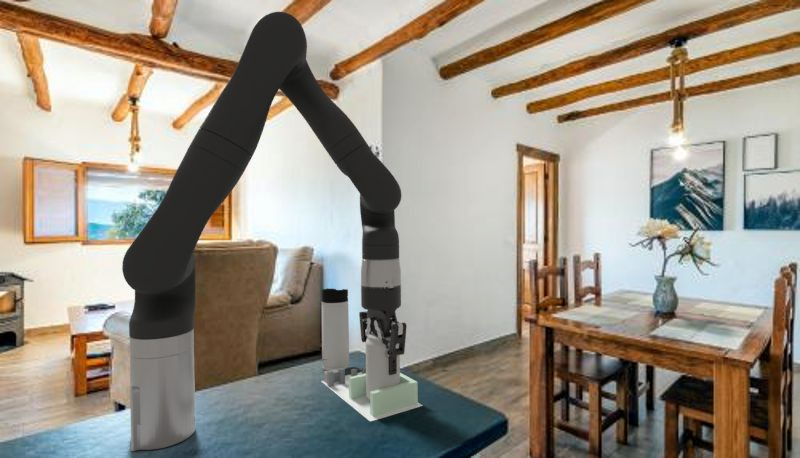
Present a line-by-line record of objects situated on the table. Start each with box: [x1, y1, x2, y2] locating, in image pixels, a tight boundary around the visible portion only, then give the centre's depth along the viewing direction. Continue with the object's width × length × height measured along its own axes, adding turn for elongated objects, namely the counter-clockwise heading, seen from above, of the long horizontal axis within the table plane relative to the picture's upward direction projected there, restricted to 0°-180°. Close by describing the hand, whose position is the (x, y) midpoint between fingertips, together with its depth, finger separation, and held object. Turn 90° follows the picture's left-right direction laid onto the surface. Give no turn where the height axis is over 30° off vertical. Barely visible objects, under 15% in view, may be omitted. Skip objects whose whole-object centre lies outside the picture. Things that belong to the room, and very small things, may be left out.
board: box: [320, 365, 424, 422], centre depth 83 cm, size 11×22×4 cm, turn 33°
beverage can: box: [365, 333, 401, 399], centre depth 78 cm, size 6×6×12 cm
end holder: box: [349, 372, 419, 417], centre depth 79 cm, size 10×10×4 cm
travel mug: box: [321, 288, 350, 373], centre depth 98 cm, size 6×7×20 cm
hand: (381, 371), depth 79 cm, fingers open, 5 cm apart
